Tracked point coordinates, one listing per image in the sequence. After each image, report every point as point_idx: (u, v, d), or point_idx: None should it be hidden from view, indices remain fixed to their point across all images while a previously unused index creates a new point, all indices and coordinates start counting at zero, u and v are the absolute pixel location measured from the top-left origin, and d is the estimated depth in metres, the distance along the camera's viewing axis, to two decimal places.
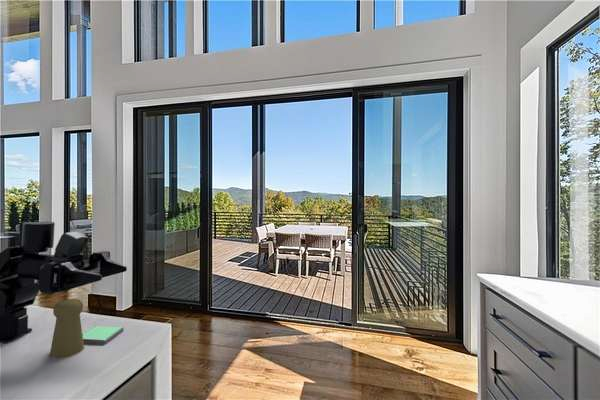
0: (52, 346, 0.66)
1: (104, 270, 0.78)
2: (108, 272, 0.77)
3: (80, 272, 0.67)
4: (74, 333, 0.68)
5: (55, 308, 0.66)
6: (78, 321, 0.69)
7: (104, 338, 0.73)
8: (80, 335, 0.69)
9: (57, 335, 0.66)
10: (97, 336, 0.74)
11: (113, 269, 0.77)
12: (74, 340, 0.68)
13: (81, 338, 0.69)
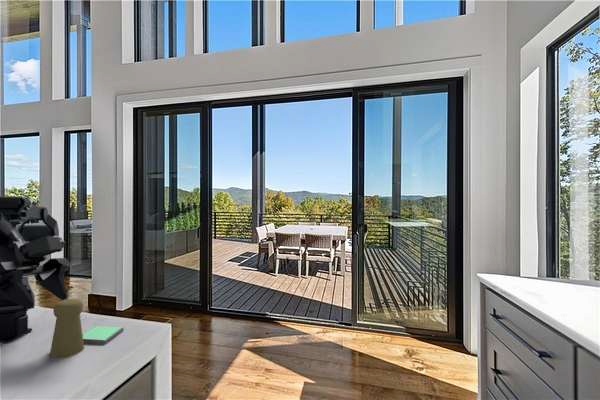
0: (52, 346, 0.66)
1: (49, 282, 0.73)
2: (50, 287, 0.73)
3: (20, 289, 0.62)
4: (74, 333, 0.68)
5: (55, 308, 0.66)
6: (78, 321, 0.69)
7: (104, 338, 0.73)
8: (80, 335, 0.69)
9: (57, 335, 0.66)
10: (97, 336, 0.74)
11: (56, 289, 0.73)
12: (74, 340, 0.68)
13: (81, 338, 0.69)
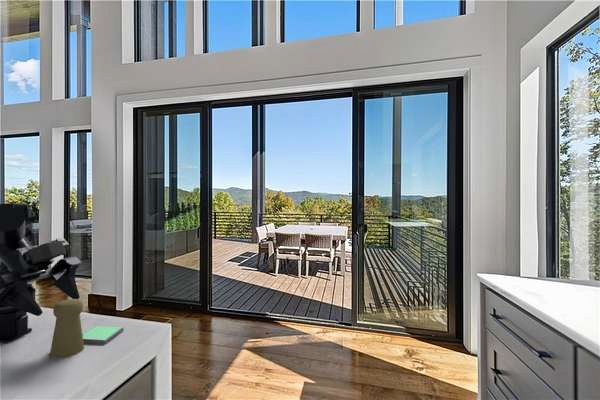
0: (52, 346, 0.66)
1: (61, 282, 0.74)
2: (62, 287, 0.74)
3: (26, 298, 0.63)
4: (74, 333, 0.68)
5: (55, 308, 0.66)
6: (78, 321, 0.69)
7: (104, 338, 0.73)
8: (80, 335, 0.69)
9: (57, 335, 0.66)
10: (97, 336, 0.74)
11: (68, 289, 0.73)
12: (74, 340, 0.68)
13: (81, 338, 0.69)
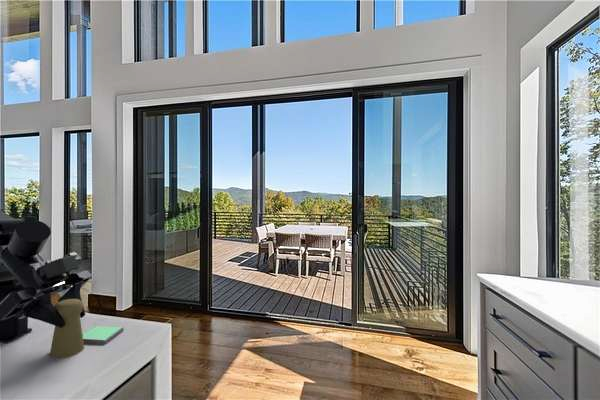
0: (52, 346, 0.66)
1: None
2: None
3: (50, 311, 0.65)
4: (74, 333, 0.68)
5: (55, 308, 0.66)
6: (78, 321, 0.69)
7: (104, 338, 0.73)
8: (80, 335, 0.69)
9: (57, 335, 0.66)
10: (97, 336, 0.74)
11: None
12: (74, 340, 0.68)
13: (81, 338, 0.69)
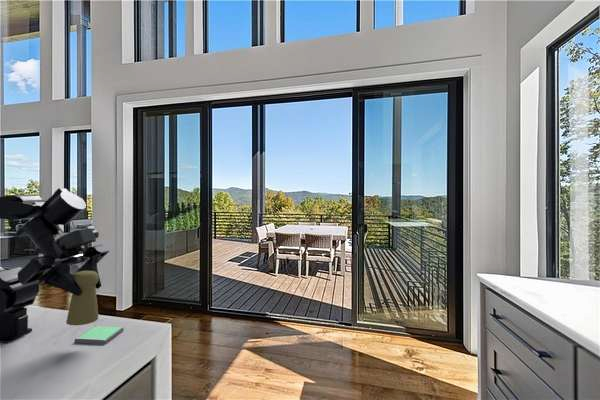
0: (68, 314, 0.69)
1: None
2: None
3: (68, 279, 0.68)
4: (89, 303, 0.70)
5: None
6: (93, 292, 0.71)
7: (104, 338, 0.73)
8: (95, 305, 0.72)
9: (73, 303, 0.69)
10: (97, 336, 0.74)
11: None
12: (89, 310, 0.70)
13: (96, 308, 0.72)
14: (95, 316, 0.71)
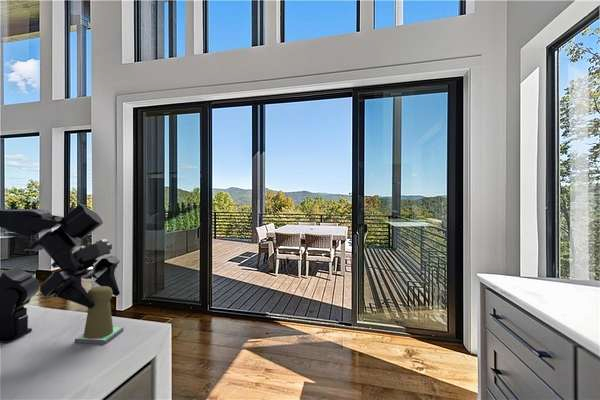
0: (86, 328, 0.73)
1: (102, 280, 0.80)
2: (104, 284, 0.80)
3: (81, 292, 0.70)
4: (105, 317, 0.74)
5: (89, 294, 0.73)
6: (109, 306, 0.76)
7: (104, 338, 0.73)
8: (110, 319, 0.76)
9: (90, 318, 0.73)
10: None
11: (109, 286, 0.80)
12: (106, 323, 0.74)
13: (111, 322, 0.76)
14: (111, 329, 0.76)
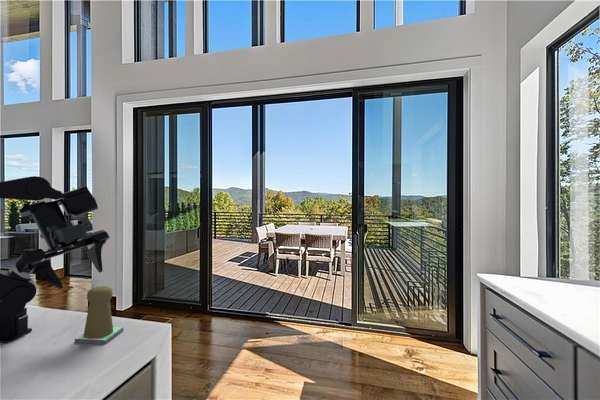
0: (86, 328, 0.73)
1: (91, 253, 0.82)
2: (91, 258, 0.82)
3: (49, 275, 0.72)
4: (105, 317, 0.74)
5: (89, 294, 0.73)
6: (109, 306, 0.76)
7: (104, 338, 0.73)
8: (110, 319, 0.76)
9: (90, 318, 0.73)
10: None
11: (94, 261, 0.82)
12: (106, 323, 0.74)
13: (111, 322, 0.76)
14: (111, 329, 0.76)
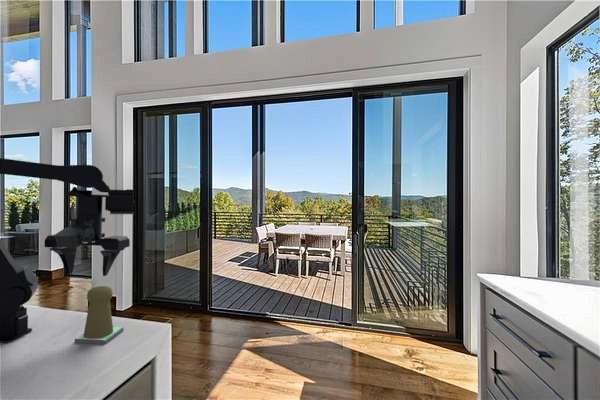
0: (86, 328, 0.73)
1: None
2: None
3: (62, 260, 0.80)
4: (105, 317, 0.74)
5: (89, 294, 0.73)
6: (109, 306, 0.76)
7: (104, 338, 0.73)
8: (110, 319, 0.76)
9: (90, 318, 0.73)
10: None
11: None
12: (106, 323, 0.74)
13: (111, 322, 0.76)
14: (111, 329, 0.76)
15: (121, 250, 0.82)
